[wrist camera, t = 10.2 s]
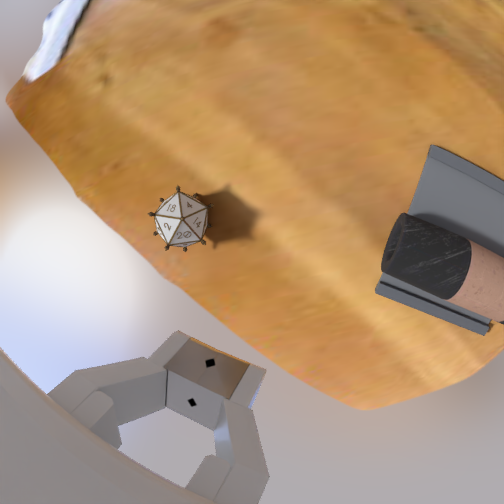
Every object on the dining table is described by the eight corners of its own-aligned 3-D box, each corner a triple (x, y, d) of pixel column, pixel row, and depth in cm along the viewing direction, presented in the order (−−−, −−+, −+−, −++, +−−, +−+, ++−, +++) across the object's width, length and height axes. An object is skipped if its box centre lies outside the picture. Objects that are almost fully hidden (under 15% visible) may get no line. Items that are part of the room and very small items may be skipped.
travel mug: (396, 261, 27) (532, 321, 23) (410, 197, 29) (536, 262, 25) (374, 282, 34) (496, 331, 30) (389, 227, 37) (504, 280, 32)
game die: (215, 199, 47) (225, 190, 37) (205, 254, 47) (213, 260, 37) (157, 188, 44) (152, 176, 35) (147, 244, 44) (139, 247, 35)
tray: (430, 144, 30) (432, 144, 29) (541, 206, 26) (545, 208, 25) (375, 289, 39) (375, 293, 38) (482, 331, 34) (484, 335, 33)
